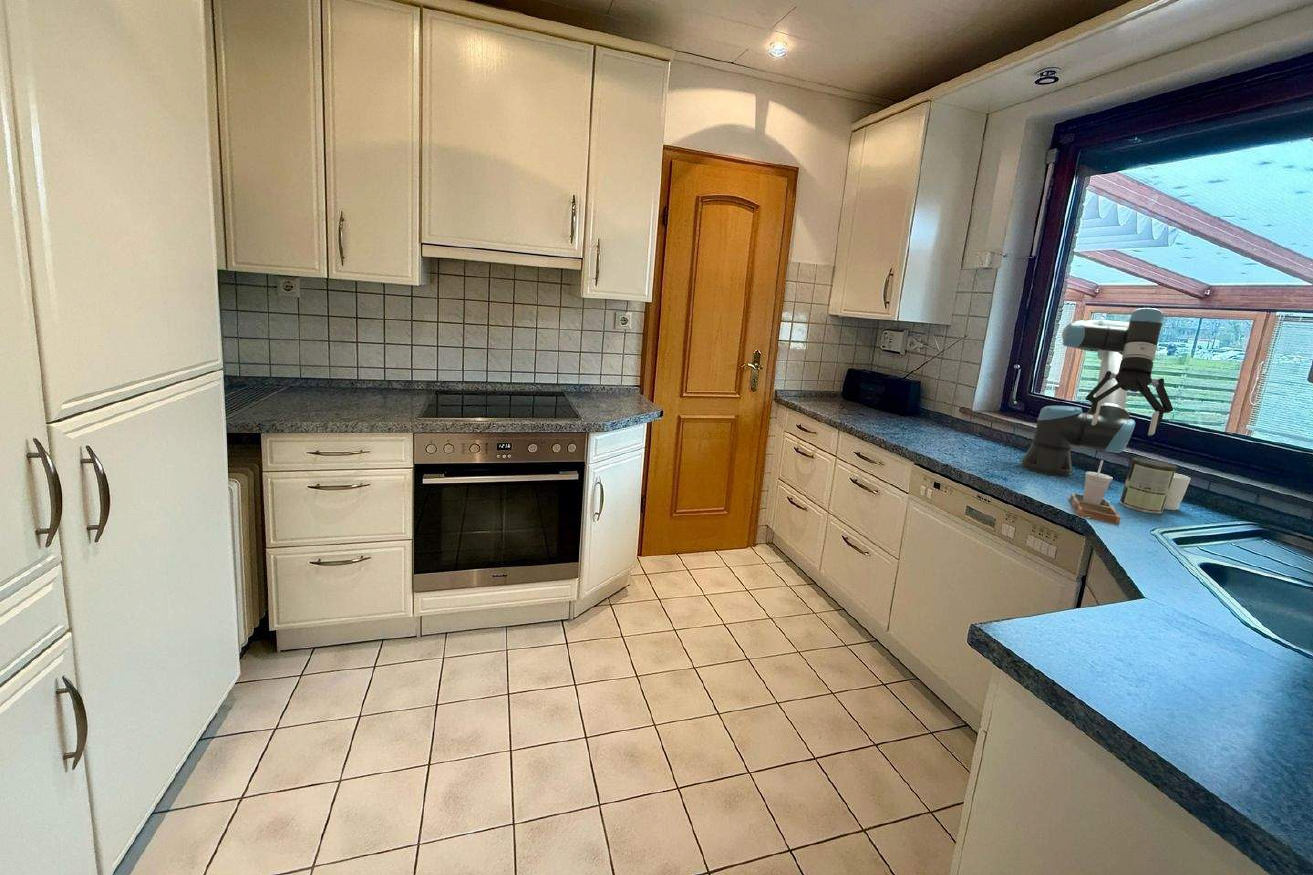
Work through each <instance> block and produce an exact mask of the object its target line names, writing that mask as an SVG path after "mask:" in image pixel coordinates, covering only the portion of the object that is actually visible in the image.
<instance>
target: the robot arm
mask: <svg viewBox="0 0 1313 875" xmlns="http://www.w3.org/2000/svg"><path fill="white" fill-rule="evenodd" d="M1128 321H1129V322H1128ZM1128 321H1127V322H1126V321H1125V322H1124V321H1117V320H1116V321H1115V320H1105V319H1094V318H1090V319H1080V320H1075V321H1073V322H1070V323H1069V324H1067V325H1066V326H1065V327H1064V328H1063V331H1062V335H1061V337H1062V345H1063V346H1064V347H1067V348H1073V349H1078V350H1082V351H1087V352H1095V353H1097V357H1098V359H1099V360H1100V361H1101V363H1100V368H1099V373H1098V379H1097V384H1096V386H1095V387H1094V388H1093V389H1092V390H1091V391H1090V392H1089V393H1088V394H1086V396H1085V397H1084V400H1085V401H1087V402H1088V401H1089V402H1090V404H1091V405H1090V408H1089V410H1087V412H1083V409H1082V407H1080V406H1079V407H1078V406H1071V405H1070V406H1069V405H1046V406H1044V407H1042V408H1041V409H1040V412H1039V415H1038V417H1037V419H1036V420H1037V424H1036V427H1035V430H1034V434H1033V438H1032V441H1031V444H1030V447H1029V448H1028V450H1027V451H1026V453H1025V454H1024V455H1023V457H1022V458H1021V461H1020V467H1022V468H1023V469H1026V470H1029V471H1032V472H1034V473H1035V472H1036V473H1041V474H1044V475H1049V476H1055V477H1056V476H1057V477H1070V476H1071V473H1072V469H1073V468H1072V459H1071V450H1072V447H1073V446H1076V447H1082V448H1088V449H1091V450H1098V451H1103V452H1106V453H1108V452H1110V453H1121V452H1122V453H1123V451H1124V450H1125V449H1126V447H1127V445H1128V444H1129V441H1130V439H1131V437H1132V434H1133V431H1135V430H1134V429H1135V426H1136V421H1135V420H1134V419H1132V418H1130V413H1129V412H1128V410H1126V409H1125V408H1126V405H1127V404H1126V403H1127V397H1128V396H1127V395H1128V391H1130V392H1133V393H1136V392H1139V393H1140V394H1141V395H1142V396H1143V397H1144V399H1145V400H1146V401H1147V403H1149V405H1150V406H1151V407H1152V409H1153V410H1154V412H1153V413H1152V414H1151V417H1150V418H1151V419H1150V423H1149V429H1148V433H1147V435H1148V436H1153V435H1154V434H1155V433H1156V429H1157V425H1160V424H1162V421H1163V418H1164V414H1168V413H1171V412H1172V411H1173V410H1174V408H1173V405H1172V402H1171V401H1170V397H1169V395H1168V393H1167V390H1166V388H1165V379H1164V378H1162V377H1161V378H1158V379H1157V378H1152V376H1151V375H1152V372H1153V367H1154V361H1155V357H1156V353H1157V348H1158V343H1159V338H1160V334H1161V331H1162V326H1163V324H1164V312H1163V311H1162V310H1160V309H1157V308H1153V307H1143V308H1142V307H1141V308H1138V309H1135V310H1134V311H1132V313H1131V315H1130V318H1129V320H1128ZM1150 384H1152V386H1153V387H1154V388H1155V391H1156V394H1157V396H1158V399H1159V400H1158V399H1157V398H1156V396H1155V395H1154V393H1153V392H1152V390H1151V389H1150V387H1149V385H1150Z"/></svg>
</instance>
